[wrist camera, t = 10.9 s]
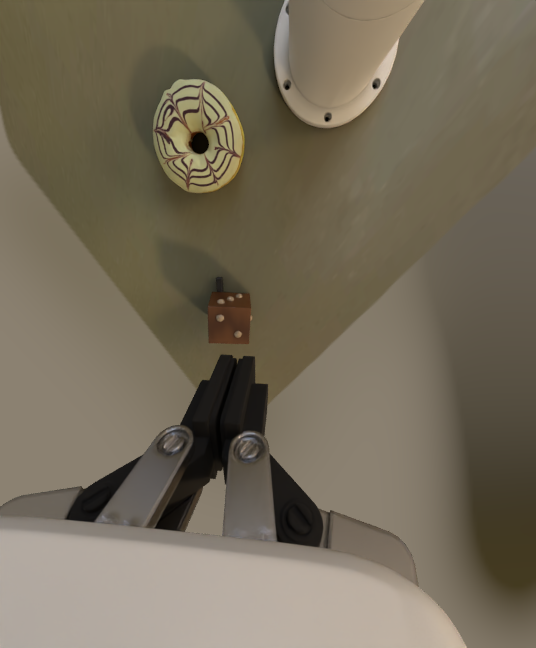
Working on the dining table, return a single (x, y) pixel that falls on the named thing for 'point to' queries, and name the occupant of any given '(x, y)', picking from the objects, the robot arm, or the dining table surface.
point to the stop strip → (219, 284)
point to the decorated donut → (184, 123)
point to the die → (229, 318)
